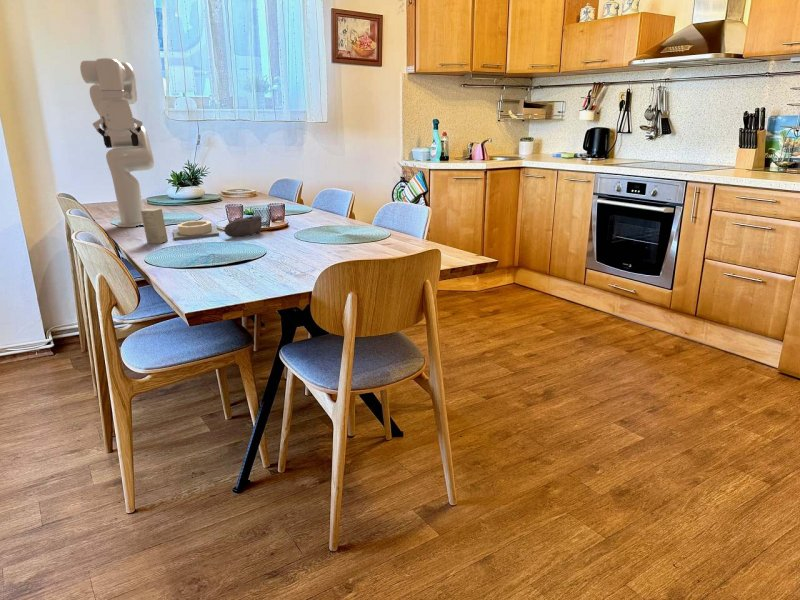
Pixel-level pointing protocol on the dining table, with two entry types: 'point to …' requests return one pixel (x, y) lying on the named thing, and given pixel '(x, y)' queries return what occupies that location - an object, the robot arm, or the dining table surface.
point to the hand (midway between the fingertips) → (122, 146)
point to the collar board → (195, 230)
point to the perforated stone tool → (244, 227)
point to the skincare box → (154, 225)
